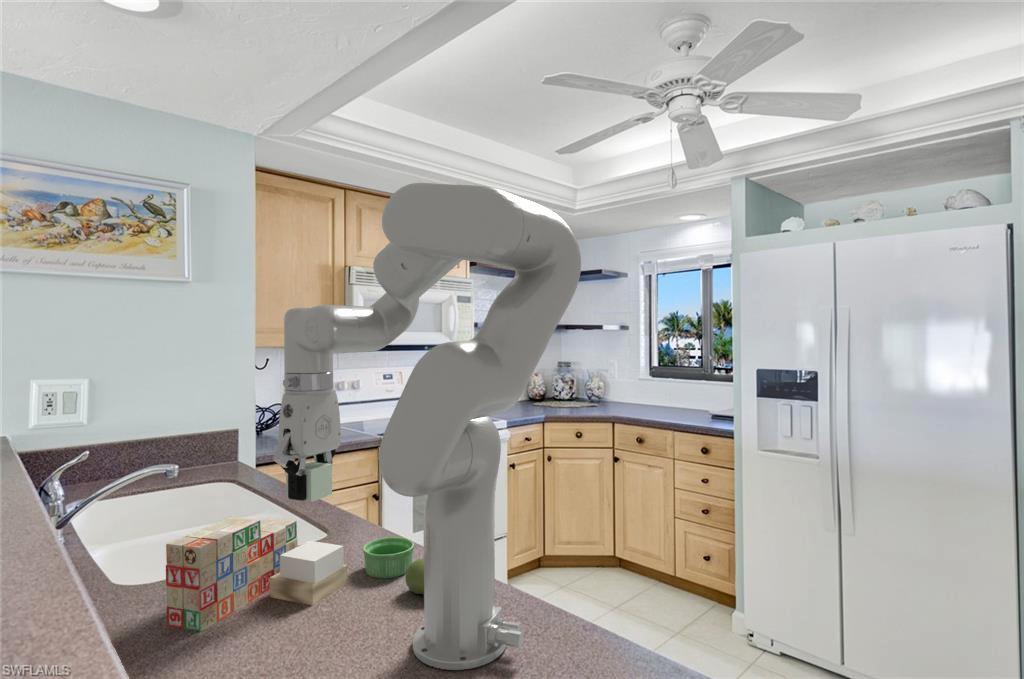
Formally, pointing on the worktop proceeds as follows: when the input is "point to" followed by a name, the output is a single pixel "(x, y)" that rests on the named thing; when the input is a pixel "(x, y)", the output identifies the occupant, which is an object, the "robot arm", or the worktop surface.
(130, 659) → the worktop surface
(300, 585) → the tower base
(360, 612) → the worktop surface
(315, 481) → the sage cube
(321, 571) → the tower top
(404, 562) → the ramekin
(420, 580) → the pear
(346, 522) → the worktop surface
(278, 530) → the stack of blocks
